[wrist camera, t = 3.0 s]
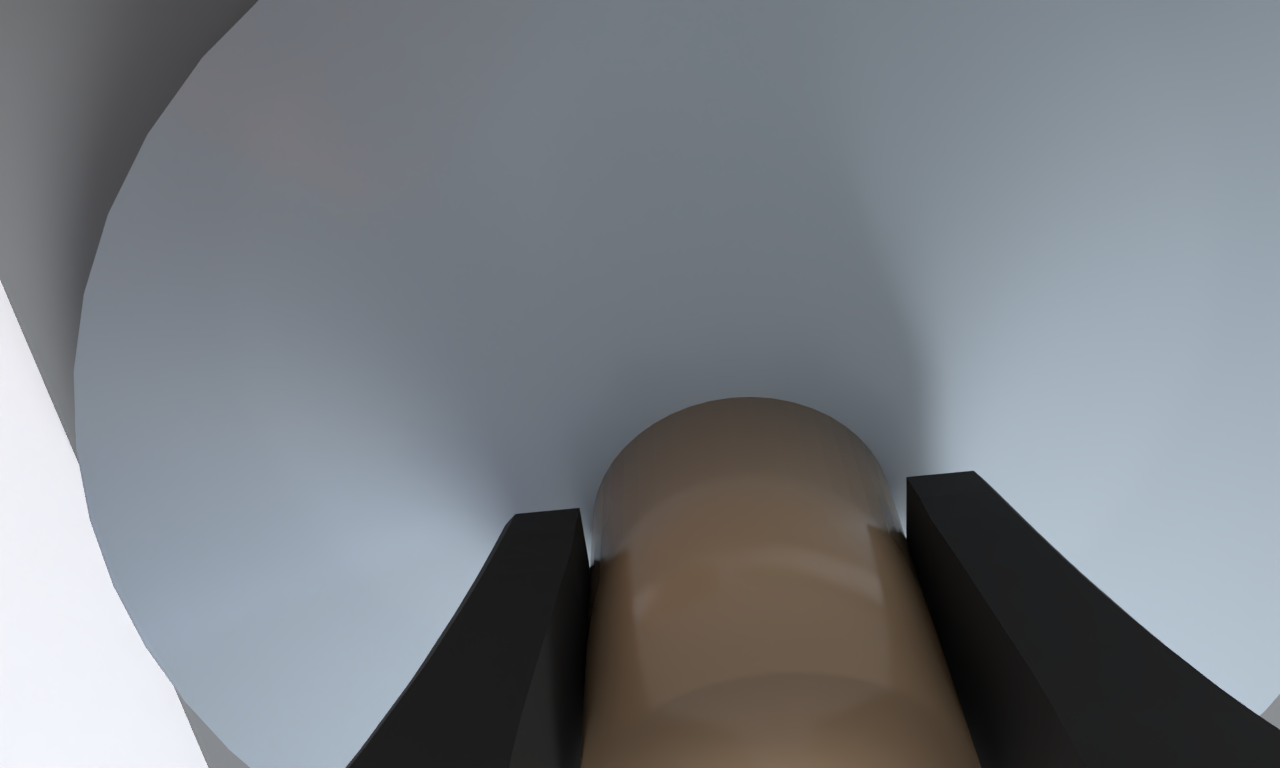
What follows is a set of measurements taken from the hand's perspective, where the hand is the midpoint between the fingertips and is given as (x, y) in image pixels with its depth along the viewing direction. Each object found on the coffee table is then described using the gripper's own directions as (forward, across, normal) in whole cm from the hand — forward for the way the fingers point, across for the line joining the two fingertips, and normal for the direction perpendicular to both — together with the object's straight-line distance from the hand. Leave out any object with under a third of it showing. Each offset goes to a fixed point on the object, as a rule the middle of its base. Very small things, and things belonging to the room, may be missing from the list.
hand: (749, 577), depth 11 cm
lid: (+2, 0, 0) cm, 2 cm away
